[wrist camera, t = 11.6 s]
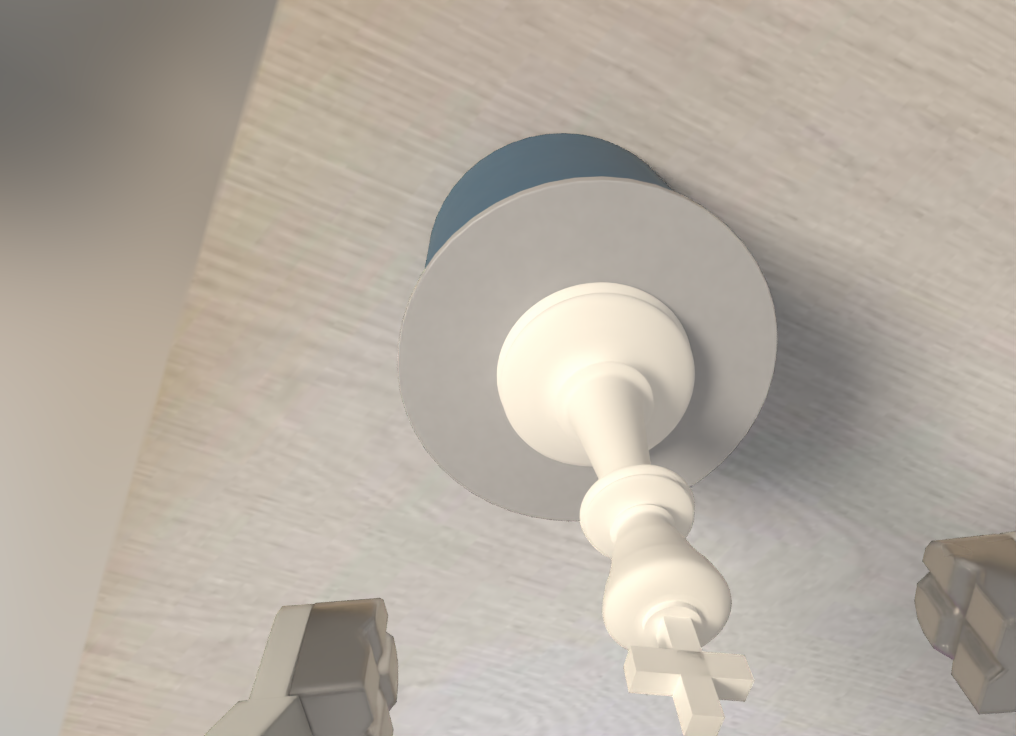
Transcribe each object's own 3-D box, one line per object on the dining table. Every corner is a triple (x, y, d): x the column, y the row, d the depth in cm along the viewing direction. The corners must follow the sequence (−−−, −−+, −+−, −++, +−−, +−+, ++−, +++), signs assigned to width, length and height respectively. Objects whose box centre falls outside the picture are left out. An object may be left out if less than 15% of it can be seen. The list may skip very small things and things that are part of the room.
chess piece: (663, 463, 20) (816, 847, 11) (483, 444, 19) (490, 830, 10) (714, 295, 18) (958, 605, 9) (513, 268, 17) (554, 566, 8)
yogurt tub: (484, 71, 23) (488, 107, 15) (746, 194, 25) (855, 276, 18) (380, 332, 26) (345, 457, 19) (614, 419, 28) (660, 561, 21)
